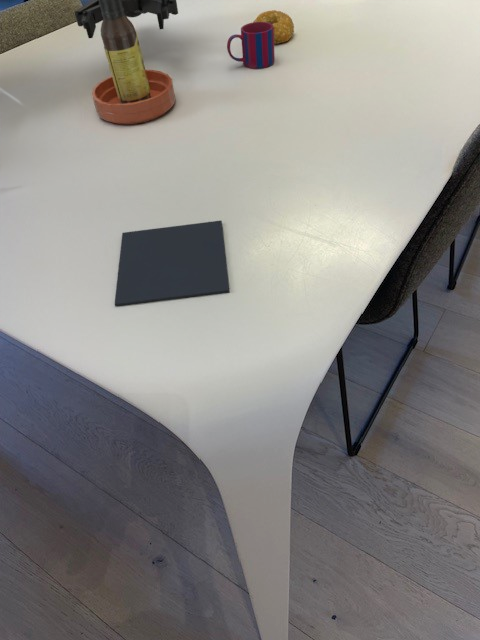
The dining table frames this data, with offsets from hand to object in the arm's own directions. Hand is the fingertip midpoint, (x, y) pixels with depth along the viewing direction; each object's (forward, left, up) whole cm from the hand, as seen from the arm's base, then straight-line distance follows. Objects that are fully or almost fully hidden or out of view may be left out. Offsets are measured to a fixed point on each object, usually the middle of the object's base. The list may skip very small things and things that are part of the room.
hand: (124, 25), depth 93 cm
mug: (+24, +6, -12) cm, 27 cm away
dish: (0, -8, -12) cm, 14 cm away
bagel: (+30, +19, -12) cm, 37 cm away
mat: (+7, -55, -12) cm, 57 cm away
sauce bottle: (0, -8, -11) cm, 14 cm away
